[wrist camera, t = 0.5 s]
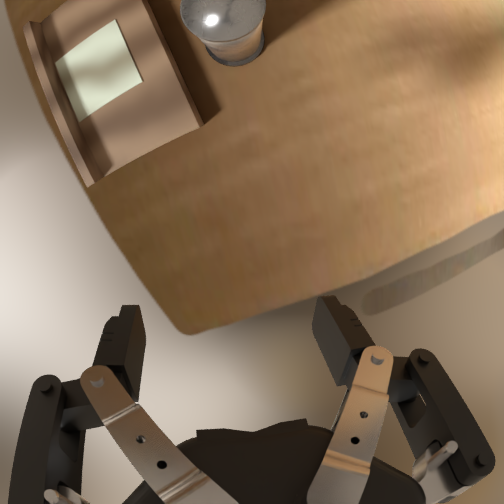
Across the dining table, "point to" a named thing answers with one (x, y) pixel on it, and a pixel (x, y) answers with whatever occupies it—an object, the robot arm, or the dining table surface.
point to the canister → (227, 28)
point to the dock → (110, 82)
